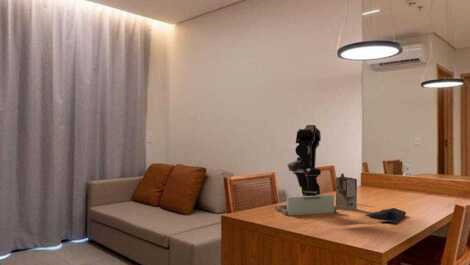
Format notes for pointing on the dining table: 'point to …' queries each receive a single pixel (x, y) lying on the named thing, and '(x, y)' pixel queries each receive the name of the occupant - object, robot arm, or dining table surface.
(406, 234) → the dining table surface
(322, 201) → the tailgate
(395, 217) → the dark slate chunk
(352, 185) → the coffee box
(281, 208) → the brown shallow tray
